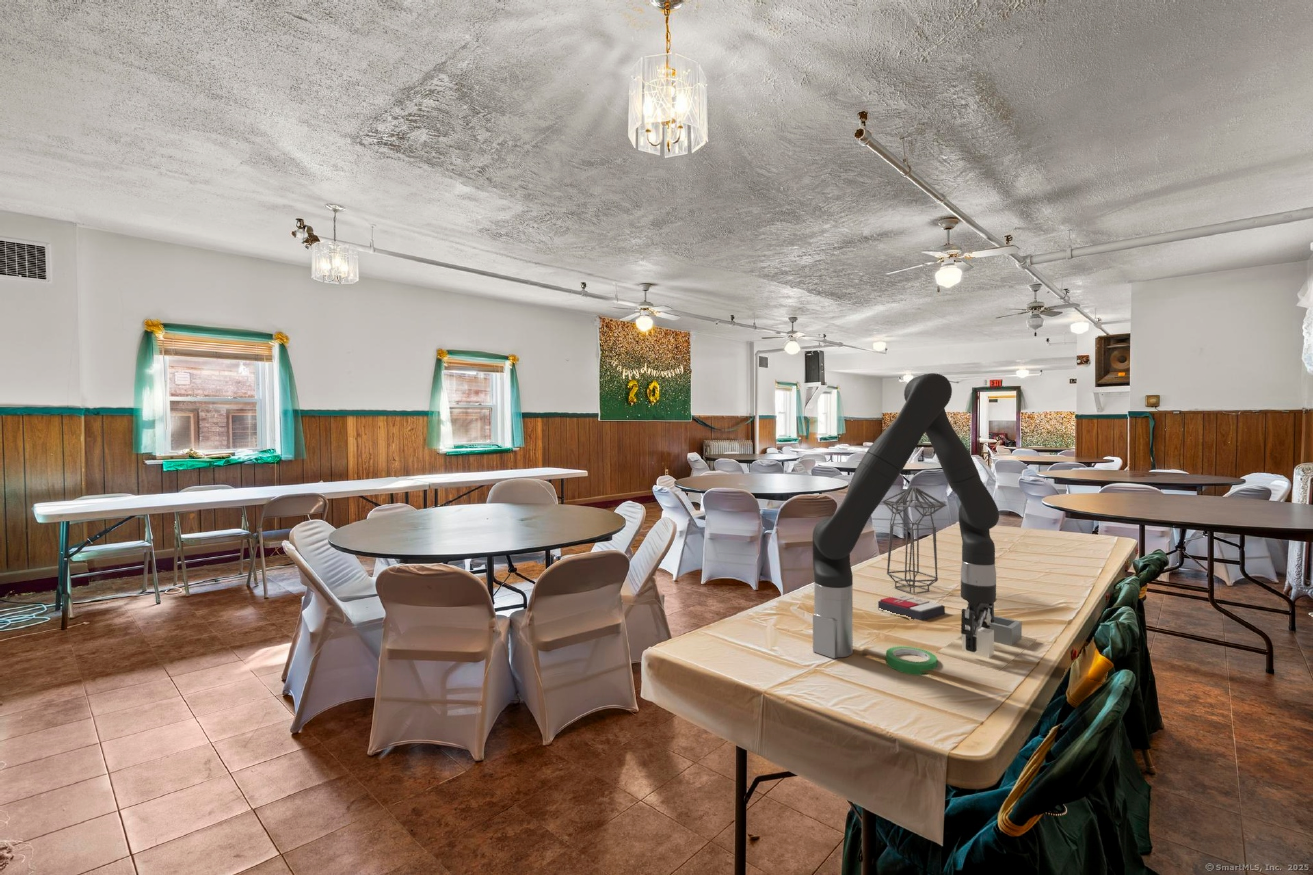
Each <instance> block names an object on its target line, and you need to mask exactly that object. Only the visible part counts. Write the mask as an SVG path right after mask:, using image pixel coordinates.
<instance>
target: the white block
mask: <svg viewBox="0 0 1313 875" xmlns="http://www.w3.org/2000/svg"><path fill="white" fill-rule="evenodd" d="M965 626H966V625H965ZM969 630H970V627H969ZM961 636H962V651H964V652H967V653H971V654H975V655H978V656H982V657H986V658H990V657H991V656H993V655H994V630H991V629H987V628H983V627H981V628H980V629H978V632H977V636H976V637H977V651H976V652H971V651H967V650H966V635H965V634H961Z"/></svg>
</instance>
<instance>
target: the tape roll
mask: <svg viewBox="0 0 1313 875" xmlns="http://www.w3.org/2000/svg"><path fill="white" fill-rule="evenodd" d="M885 655H886V656H885V659H886V660H885V662H886V664H887V666H888V667H890V668H891V669H892V670H895V671H897V672H901V673H903V674H908V675H913V676H927V675H930V673H928V672H926V671H930V670H933V669H936V668H937V667H938V657H937V656H936V655H935V654H934V653H932V652H930V651H928V650H924V649H923V648H918V647H911V646H904V645H903V646H892V647H890V648H888V649H887V650H886V651H885ZM899 655H912V656H917V657H919V658H923V659H925V660H924V661H911V660H906V659H903V658H901V657H898V656H899Z"/></svg>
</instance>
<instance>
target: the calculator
mask: <svg viewBox="0 0 1313 875" xmlns="http://www.w3.org/2000/svg"><path fill="white" fill-rule="evenodd" d="M877 602H878V603H877V604H878V605H877V606H878V609H879V608H881V609H883V610H887V611H890V612H892V613H896V614H900V615H906V616H908V617H911V619H913V620H912V621H914V620H915V619H916V620H919V621H922V622H923V621H927V620H930V619H933V618H936V617H941V616H943V615H946V607H945V605H943V604H941V603H937V602H933V601H931V602H930V600H926V599H923V598H919V597H914V596H909V595H905V594H898V595H894V596H889V597H886V598H885V597H884V598H880V600H878V601H877Z"/></svg>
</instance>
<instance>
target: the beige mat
mask: <svg viewBox="0 0 1313 875" xmlns="http://www.w3.org/2000/svg"><path fill="white" fill-rule="evenodd" d="M1036 641H1037V638H1034V637H1033V638H1032V637H1028V636H1024V635H1022V639H1021V640H1019V641H1018V642H1017V643H1015V644H1014V645H1013V646H1008V645H1004V644H1000V643H996V642H994V655H993V656H991V657H990V658H986V657H982V656H978V655H975V654H971V653H967V652H964V651H962V635H961V636H960V637H958V638H956V639H955V640H953V641H952V642H950V643H949V644H947V645H945V646H944V647H942V648H941V649H939V650H938V651H936V652H935V653H936V654H940V655H944V656H947V657H950V658H954V659H958V660H961V661H965V662H968V663H972V664H976V665H978V666H981V667H985V668H988V669H992V670H996V671H998V672H999V671H1001V670H1002V669H1003V668H1004V667H1005V666H1007V665H1008V664H1009V663H1011V662H1012V661H1013V660H1014V659H1015V658H1016V657H1018V656H1019V655H1020V654H1021V653H1022V652H1023V651H1025V650H1026V649H1027V648H1028V647H1030V646H1031V645H1033V643H1034V642H1036Z"/></svg>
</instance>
